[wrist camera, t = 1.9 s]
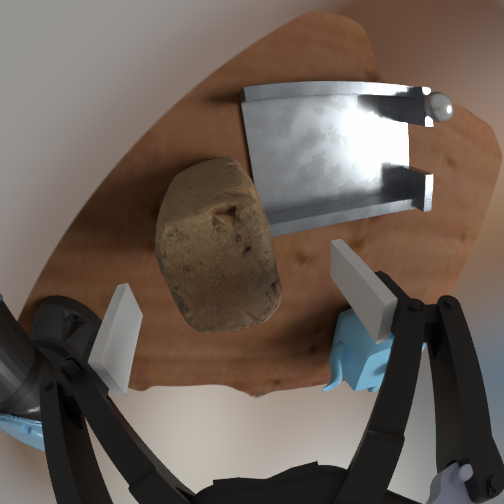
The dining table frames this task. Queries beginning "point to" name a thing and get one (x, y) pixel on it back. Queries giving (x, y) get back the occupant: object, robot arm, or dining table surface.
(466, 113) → the dining table surface
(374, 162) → the dock
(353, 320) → the teapot
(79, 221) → the dining table surface
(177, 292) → the brown blocky piece
